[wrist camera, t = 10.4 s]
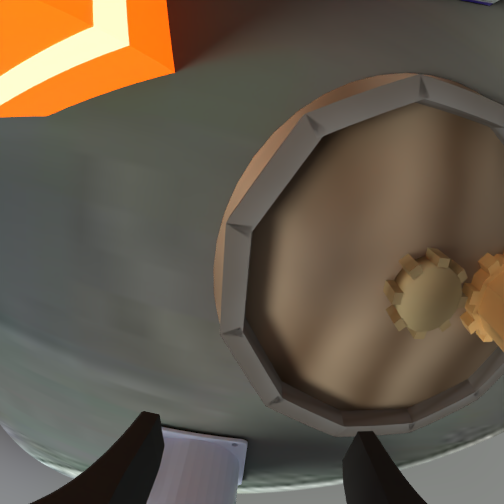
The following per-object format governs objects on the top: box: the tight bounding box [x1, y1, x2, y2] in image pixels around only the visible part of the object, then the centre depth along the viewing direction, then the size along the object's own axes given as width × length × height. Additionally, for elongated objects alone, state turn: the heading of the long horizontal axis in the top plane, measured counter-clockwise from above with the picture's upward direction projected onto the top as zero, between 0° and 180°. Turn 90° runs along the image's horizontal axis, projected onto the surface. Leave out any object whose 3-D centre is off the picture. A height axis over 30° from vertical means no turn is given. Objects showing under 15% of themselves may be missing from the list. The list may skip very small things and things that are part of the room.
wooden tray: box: [214, 73, 504, 437], centre depth 17 cm, size 24×24×3 cm
